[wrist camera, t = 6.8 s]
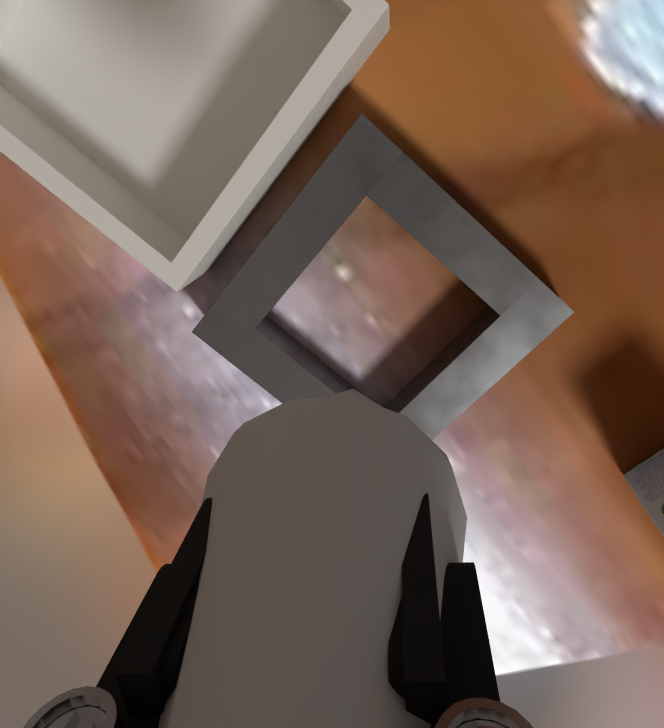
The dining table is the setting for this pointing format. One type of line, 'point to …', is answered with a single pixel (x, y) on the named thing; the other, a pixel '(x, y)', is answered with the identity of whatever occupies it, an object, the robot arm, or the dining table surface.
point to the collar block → (430, 228)
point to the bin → (172, 109)
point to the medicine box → (650, 486)
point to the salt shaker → (311, 567)
